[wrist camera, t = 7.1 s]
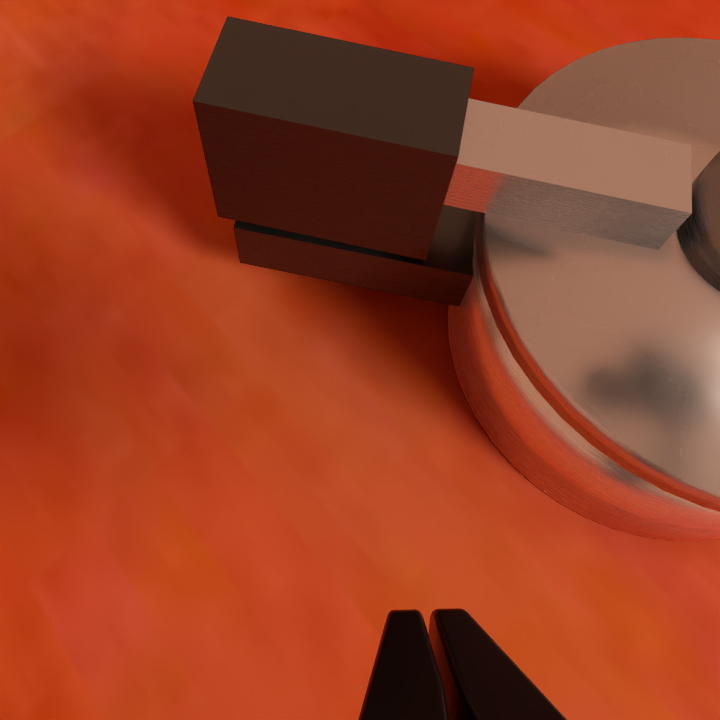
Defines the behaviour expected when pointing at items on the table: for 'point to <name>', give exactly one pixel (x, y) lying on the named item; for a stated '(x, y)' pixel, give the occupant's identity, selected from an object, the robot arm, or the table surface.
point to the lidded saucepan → (513, 210)
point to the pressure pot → (491, 374)
